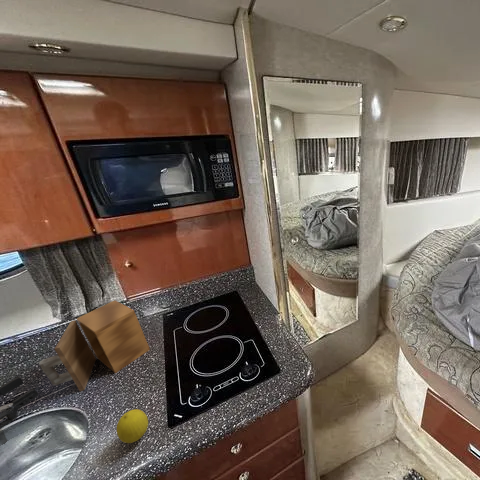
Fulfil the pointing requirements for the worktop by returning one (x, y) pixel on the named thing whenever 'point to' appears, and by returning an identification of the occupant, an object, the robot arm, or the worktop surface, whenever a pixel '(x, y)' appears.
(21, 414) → the worktop surface
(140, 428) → the lemon
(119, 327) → the cupboard
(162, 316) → the worktop surface
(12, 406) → the robot arm
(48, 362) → the cupboard door
